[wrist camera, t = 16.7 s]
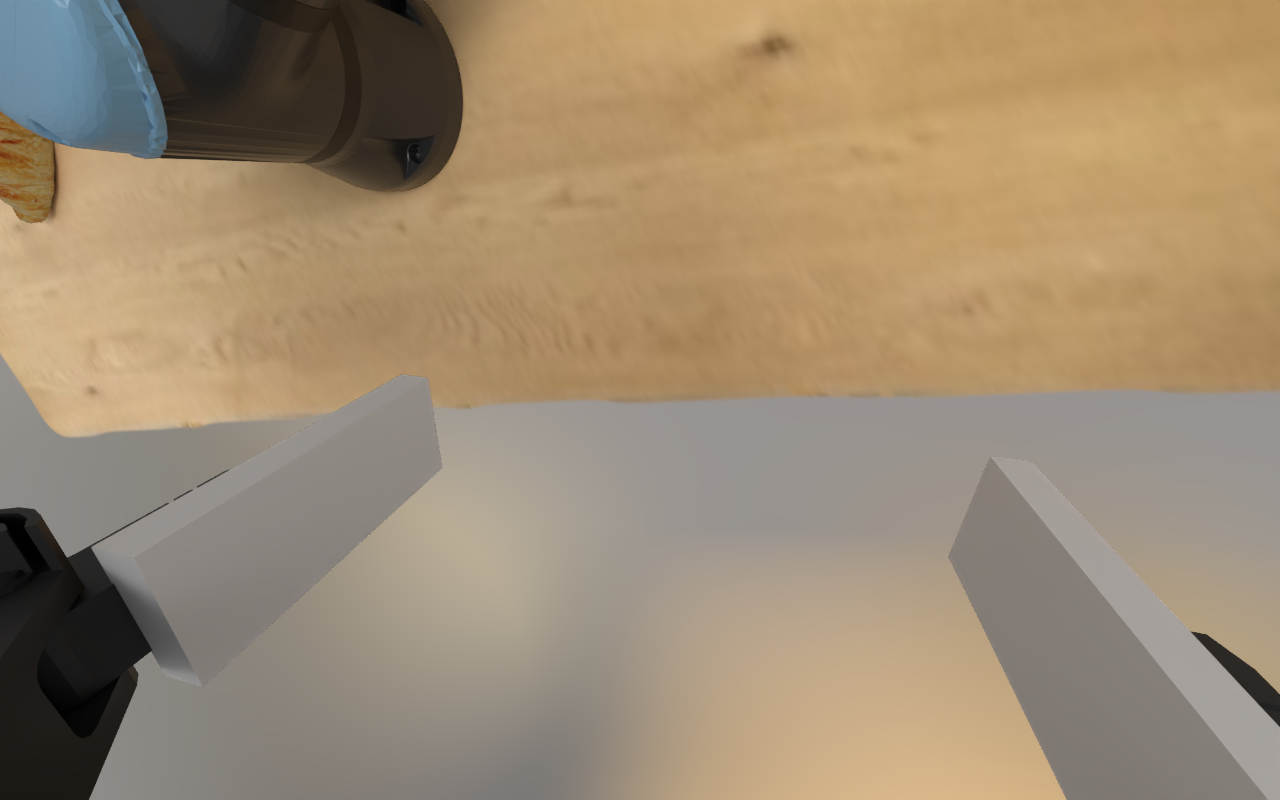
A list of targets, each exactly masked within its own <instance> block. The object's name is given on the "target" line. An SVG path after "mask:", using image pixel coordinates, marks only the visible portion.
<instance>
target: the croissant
mask: <svg viewBox="0 0 1280 800" xmlns="http://www.w3.org/2000/svg"><path fill="white" fill-rule="evenodd" d="M54 168H55V164H54V149H53V141H51V140H49V139H46V138H44V137H42V136H39V135H37V134H35V133H33V132H31V131H30V130H28V129H26V128H24V127H23V126H21V125H19V124H18V123H16V122H15V121H13V120H12V119H10V118H9V117H8V116H6V115H5V114H3V113H2V112H1V111H0V199H1V200H2V201H4V202H5V203H7V204H9V205H10V206H12V207H13V209H14V211H15V213H16V215H17V216H18V218H19V219H20V220H23V221H25V222H27V223H38V222H41V223H42V222H43V221H44V220H45V219H46V218H47V216H48V213H49V212H48V211H49V210H50V209H51V201H52V197H53V195H54V188H55V187H54V186H55V183H54Z"/></svg>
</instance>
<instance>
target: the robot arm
mask: <svg viewBox="0 0 1280 800" xmlns="http://www.w3.org/2000/svg"><path fill="white" fill-rule="evenodd" d="M0 111H1V112H2V113H3V114H5V115H6V116H8V117H9V118H10V119H12V120H13V121H15V122H16V123H18V124H19V125H21V126H23V127H24V128H26V129H28V130H30V131H31V132H33V133H35V134H37V135H39V136H42V137H44V138H46V139H49V140H51V141H54V142H57V143H60V144H63V145H67V146H70V147H75V148H82V149H92V150H101V151H110V152H119V153H127V154H130V155H132V156H135V157H139V158H144V159H154V158H173V159H201V160H228V161H256V162H284V163H304V164H307V165H309V166H311V167H313V168H316V169H318V170H320V171H322V172H325V173H327V174H329V175H331V176H333V177H336V178H338V179H340V180H342V181H345V182H347V183H349V184H351V185H354V186H357V187H360V188H364V189H369V190H376V191H402V190H408V189H412V188H415V187H418V186H420V185H422V184H424V183H426V182H427V181H429V180H430V179H431V178H433V177H434V176H435V175H436V174H437V173H438V172H439V171H440V170H441V169H442V167H443V166H444V165H445V163H446V162H447V160H448V159H449V157H450V155H451V153H452V151H453V149H454V146H455V144H456V141H457V137H458V134H459V129H460V124H461V117H462V88H461V80H460V74H459V70H458V65H457V62H456V58H455V55H454V52H453V49H452V46H451V44H450V42H449V39H448V37H447V35H446V33H445V31H444V29H443V27H442V25H441V24H440V22H439V20H438V19H437V17H436V16H435V14H434V13H433V11H432V10H431V9H430V7H429V6H428V5H427V4H426V3H425V1H424V0H0ZM441 468H442V463H441V457H440V451H439V445H438V438H437V431H436V425H435V419H434V413H433V407H432V400H431V394H430V388H429V382H428V378H425V377H418V376H410V375H403V374H401V375H400V376H398V377H396V378H394V379H392V380H391V381H389V382H387V383H385V384H383V385H382V386H380V387H378V388H376V389H374V390H373V391H371V392H369V393H367V394H365V395H364V396H362V397H360V398H358V399H356V400H355V401H353V402H351V403H349V404H347V405H346V406H344V407H342V408H340V409H338V410H337V411H335V412H333V413H331V414H329V415H328V416H326V417H324V418H323V419H320V420H319V421H317V422H315V423H313V424H312V425H310V426H308V427H306V428H304V429H303V430H301V431H299V432H297V433H295V434H293V435H292V436H290V437H288V438H286V439H285V440H283V441H281V442H279V443H277V444H275V445H274V446H272V447H270V448H269V449H267V450H265V451H263V452H261V453H259V454H258V455H256V456H254V457H252V458H250V459H249V460H247V461H245V462H243V463H241V464H239V465H238V466H236V467H234V468H232V469H230V470H227V471H225V472H223V473H221V474H219V475H217V476H215V477H214V478H212V479H210V480H208V481H206V482H204V483H203V484H201V485H199V486H197V488H196V489H194V490H190V491H188V492H186V493H185V494H183V495H181V496H179V497H177V498H176V499H174V501H173V502H171V503H167V504H165V505H163V506H161V507H159V508H157V509H156V510H154V511H152V512H150V513H148V514H147V515H145V516H143V517H141V518H139V519H138V520H136V521H134V522H132V523H130V524H129V525H127V526H125V527H123V528H121V529H120V530H118V531H116V532H114V533H112V534H110V535H109V536H107V537H105V538H103V539H102V540H100V541H98V542H96V543H94V544H92V545H91V546H89V547H87V548H85V549H83V550H82V551H80V552H78V553H76V554H74V555H72V556H70V557H68V558H67V557H66V556H65V554H64V552H63V551H62V549H61V547H60V546H59V544H58V543H57V541H56V539H55V538H54V536H53V535H52V533H51V531H50V530H49V528H48V526H47V525H46V523H45V521H44V520H43V518H42V517H41V515H40V514H39V513H38V512H37V511H36V510H34V509H28V508H19V507H18V508H10V509H0V800H89V798H90V796H91V794H92V791H93V789H94V786H95V784H96V782H97V779H98V777H99V774H100V772H101V770H102V767H103V765H104V763H105V760H106V758H107V755H108V753H109V751H110V748H111V746H112V743H113V741H114V739H115V736H116V734H117V732H118V729H119V727H120V724H121V722H122V720H123V717H124V715H125V713H126V710H127V708H128V705H129V703H130V701H131V698H132V696H133V693H134V691H135V689H136V686H137V681H138V672H137V671H136V669H135V668H134V666H133V665H134V664H135V663H137V662H138V661H139V660H140V659H142V658H143V657H144V656H145V655H147V654H148V653H149V652H152V653H153V655H154V657H155V659H156V660H157V662H158V664H159V665H160V667H161V669H162V670H163V672H164V674H165V676H168V677H171V678H174V679H177V680H181V681H185V682H187V683H191V684H194V685H198V686H201V687H204V686H205V685H206V684H207V683H208V682H209V681H210V680H212V679H213V678H214V677H215V676H216V675H217V674H218V673H219V672H220V671H221V670H222V669H224V667H226V666H227V665H228V664H229V663H230V662H231V661H232V660H233V659H234V658H236V657H237V656H238V655H239V654H240V653H241V652H242V651H243V650H244V649H245V648H246V647H248V646H249V645H250V644H251V643H252V642H253V641H254V640H255V639H256V638H257V637H258V636H259V635H260V634H262V633H263V632H264V631H265V630H266V629H267V628H268V627H269V626H270V625H271V624H273V623H274V622H275V621H276V620H277V619H278V618H279V617H280V616H281V615H282V614H283V613H285V612H286V611H287V610H288V609H289V608H290V607H291V606H292V605H293V604H294V603H295V602H296V601H298V600H299V599H300V598H301V597H302V596H303V595H304V594H305V593H306V592H307V591H308V590H310V589H311V588H312V587H313V586H314V585H315V584H316V583H317V582H318V581H319V580H320V579H321V578H322V577H324V576H325V575H326V574H327V573H328V572H329V571H330V570H331V569H332V568H334V566H336V565H337V564H338V563H339V562H340V561H341V560H342V559H343V558H344V557H345V556H347V555H348V554H349V553H350V552H351V551H352V550H353V549H354V548H355V547H356V546H358V545H359V544H360V543H361V542H362V541H363V540H364V539H365V538H366V537H367V536H368V535H370V534H371V533H372V532H373V531H374V530H375V529H376V528H377V527H378V526H379V525H380V524H381V523H382V522H383V521H384V520H386V519H387V518H388V517H389V516H390V515H391V514H392V513H393V512H395V511H396V510H397V509H398V508H399V507H400V506H401V505H402V504H403V503H404V502H405V501H407V500H408V499H409V498H410V497H411V496H412V495H413V494H414V493H415V492H416V491H417V490H419V489H420V488H421V487H422V486H423V485H424V484H425V483H426V482H427V481H428V480H429V479H430V478H431V477H433V475H435V474H436V473H437V472H438V471H439V470H440V469H441ZM948 557H949V559H950V561H951V563H952V565H953V567H954V569H955V571H956V573H957V575H958V577H959V579H960V582H961V584H962V586H963V588H964V590H965V592H966V594H967V596H968V598H969V600H970V602H971V604H972V606H973V608H974V610H975V612H976V614H977V617H978V618H979V621H980V623H981V624H982V626H983V629H984V631H985V633H986V635H987V637H988V639H989V641H990V643H991V645H992V647H993V649H994V651H995V653H996V656H997V657H998V660H999V662H1000V664H1001V666H1002V668H1003V670H1004V672H1005V674H1006V676H1007V678H1008V680H1009V682H1010V684H1011V686H1012V688H1013V690H1014V692H1015V695H1016V696H1017V699H1018V701H1019V703H1020V705H1021V707H1022V709H1023V711H1024V713H1025V715H1026V717H1027V719H1028V721H1029V723H1030V725H1031V727H1032V730H1033V732H1034V734H1035V736H1036V738H1037V739H1038V741H1039V744H1040V746H1041V748H1042V750H1043V752H1044V754H1045V756H1046V758H1047V760H1048V762H1049V764H1050V766H1051V769H1052V771H1053V773H1054V774H1055V776H1056V779H1057V781H1058V783H1059V785H1060V787H1061V789H1062V791H1063V793H1064V795H1065V797H1066V799H1067V800H1280V694H1279V693H1278V692H1277V691H1276V690H1275V689H1274V688H1273V687H1272V686H1271V685H1270V684H1269V683H1268V682H1267V681H1266V680H1265V679H1264V678H1263V677H1262V676H1261V675H1260V674H1259V673H1258V672H1257V671H1256V670H1255V669H1254V668H1252V667H1251V666H1249V665H1248V664H1246V663H1245V662H1244V661H1242V660H1241V659H1240V658H1238V657H1237V656H1236V655H1234V654H1233V653H1231V652H1230V651H1229V650H1227V649H1226V648H1224V647H1223V646H1222V645H1220V644H1219V643H1217V642H1216V641H1214V640H1213V639H1212V638H1211V637H1209V636H1208V635H1206V634H1201V633H1196V632H1191V631H1189V630H1188V629H1187V628H1186V627H1185V626H1184V624H1183V623H1182V622H1181V621H1180V620H1179V619H1178V618H1177V617H1176V616H1175V615H1174V614H1173V613H1172V612H1171V611H1170V609H1169V608H1168V607H1167V606H1166V605H1165V604H1164V603H1163V602H1162V601H1161V600H1160V599H1159V598H1158V597H1157V595H1156V594H1155V593H1154V592H1153V591H1152V590H1151V589H1150V588H1149V587H1148V586H1147V585H1146V584H1145V583H1144V582H1143V581H1142V580H1141V578H1140V577H1139V576H1138V575H1137V574H1136V573H1135V572H1134V571H1133V570H1132V569H1131V568H1130V567H1129V566H1128V564H1127V563H1126V562H1125V561H1124V560H1123V559H1122V558H1121V557H1120V556H1119V555H1118V554H1117V553H1116V552H1115V551H1114V550H1113V548H1112V547H1111V546H1110V545H1109V544H1108V543H1107V542H1106V541H1105V540H1104V539H1103V538H1102V537H1101V536H1100V535H1099V534H1098V532H1096V530H1095V529H1094V528H1093V527H1092V526H1091V525H1090V524H1089V523H1088V522H1087V521H1086V520H1085V519H1084V518H1083V516H1082V515H1081V514H1080V513H1079V512H1078V511H1077V510H1076V509H1075V508H1074V507H1073V506H1072V505H1071V504H1070V503H1069V502H1068V500H1067V499H1066V498H1065V497H1064V496H1063V495H1062V494H1061V493H1060V492H1059V491H1058V490H1057V489H1056V488H1055V487H1054V485H1053V484H1052V483H1051V482H1050V481H1049V480H1048V479H1047V478H1046V477H1045V476H1044V475H1043V474H1042V473H1041V472H1040V471H1039V469H1038V468H1037V467H1036V466H1035V465H1034V464H1033V463H1032V462H1030V461H1022V460H1016V459H1008V458H1001V457H994V456H990V457H989V460H988V462H987V464H986V467H985V469H984V472H983V474H982V476H981V479H980V481H979V484H978V486H977V489H976V491H975V494H974V496H973V498H972V501H971V503H970V505H969V508H968V510H967V513H966V515H965V518H964V520H963V523H962V525H961V527H960V530H959V532H958V534H957V537H956V539H955V542H954V544H953V547H952V549H951V552H950V554H949V556H948Z"/></svg>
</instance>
